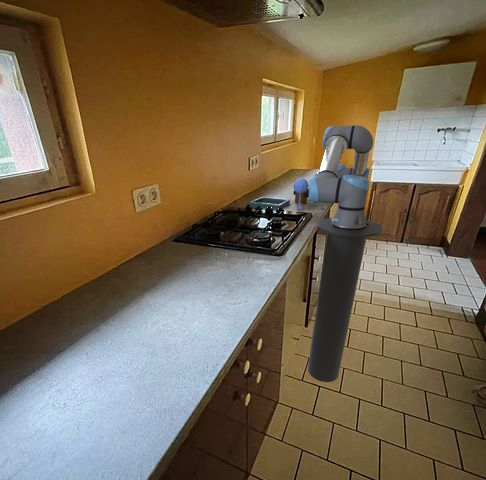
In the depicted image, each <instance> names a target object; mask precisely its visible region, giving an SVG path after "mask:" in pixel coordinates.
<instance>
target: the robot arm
mask: <svg viewBox="0 0 486 480" xmlns="http://www.w3.org/2000/svg"><path fill="white" fill-rule="evenodd" d="M321 146H322V149H324V151H325V152H324V155H323V158H322V162H321V165H320V168H319V171H318V172H316V173H315V175H314V176H311V177H310V178H309V182H308V184H309V187H308V189H309V192H307V193H304V198H305V197H308V200H309V201H310V202H312V203H322V204H338V206H337V210H336V212H335V214H334V216H333V217H330V218H331V221H332V226H334V227H336V228H340V229H345V230H360V229H364V228H365V227H366V225H367V226H369V224H367V223H366V220H367V219H366V213H365V210H366V206H367V205H366V204H367V198H368V194H369V191H370V180H369V175H370V170H371V169H370V168H369V167H368V163H369V158H370V152H371V150H372V149H373V147H374V137H373V134H372V133H371V132H370V130H368V128H366V127H365V126H363V125H359V124H357V125H356V124H355V125H331V126H327V128H326V129H325V131H324V133H323V138H322V143H321ZM346 150H354V158H353V167H347V165H346V164H344V163H341V160H342V156H343V153H345V152H346ZM295 193H296V191H295V190H294V189H293V194H292V195H293V196H295Z"/></svg>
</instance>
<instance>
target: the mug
mask: <svg viewBox="0 0 486 480" xmlns="http://www.w3.org/2000/svg"><path fill="white" fill-rule="evenodd" d="M307 192H309V189H307V190H306V191H305V192H304V193H307ZM304 193H301V198H300V193H297V192H296V193H295V195H294V203H295V204H297V205H298V204H299V198H300V204H301V205H302V204H303V205H305V204H306V203H308V199H309V197H305V198H304Z"/></svg>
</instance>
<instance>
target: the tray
mask: <svg viewBox="0 0 486 480" xmlns="http://www.w3.org/2000/svg"><path fill="white" fill-rule="evenodd" d="M290 203H291V199H288V198H278V197H277V198H276V197H265V196H261V197H258V198H256V199H254V200H251V201H249V208H254V209H255V208H256V209H258V208H257V207H259V206H260V208H259V209H265V210H268V209H267V207H272V209H273V210H272V211H279V210H278V208H282V209H285V208H286V207H288V206H289V205H290Z"/></svg>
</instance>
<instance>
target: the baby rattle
mask: <svg viewBox="0 0 486 480" xmlns="http://www.w3.org/2000/svg"><path fill="white" fill-rule="evenodd" d="M292 188H293V191H294V190H295V191H296V192H297V193H300V198H301V193H304V192H305V191H306V190H307V189H308V188H309V182H308V180H307V179H305V178H303V177H300V178H297V179H296V180H295V181H294V183H293V185H292ZM300 198H299V204H298V203H297V206H296V209H297V210H300V211H301V210H302V204H300Z"/></svg>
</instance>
